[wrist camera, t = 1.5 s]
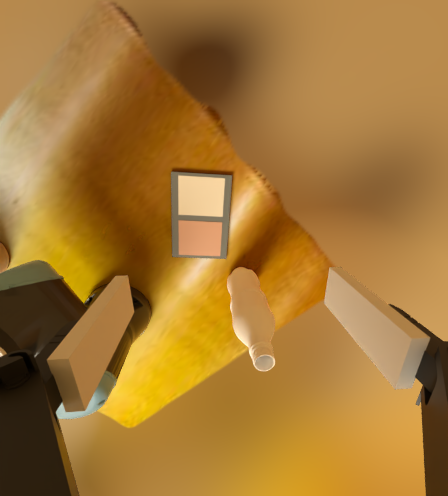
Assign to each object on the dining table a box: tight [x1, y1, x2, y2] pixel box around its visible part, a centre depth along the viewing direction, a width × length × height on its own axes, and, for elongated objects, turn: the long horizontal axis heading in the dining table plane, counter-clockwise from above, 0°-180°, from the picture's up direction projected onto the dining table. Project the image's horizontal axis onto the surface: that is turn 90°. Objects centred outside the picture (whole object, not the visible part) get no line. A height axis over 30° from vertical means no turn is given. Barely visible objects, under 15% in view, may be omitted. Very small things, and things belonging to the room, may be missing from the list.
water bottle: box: [227, 267, 275, 371], centre depth 43 cm, size 7×7×25 cm
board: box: [171, 172, 232, 259], centre depth 49 cm, size 12×18×1 cm, turn 176°
